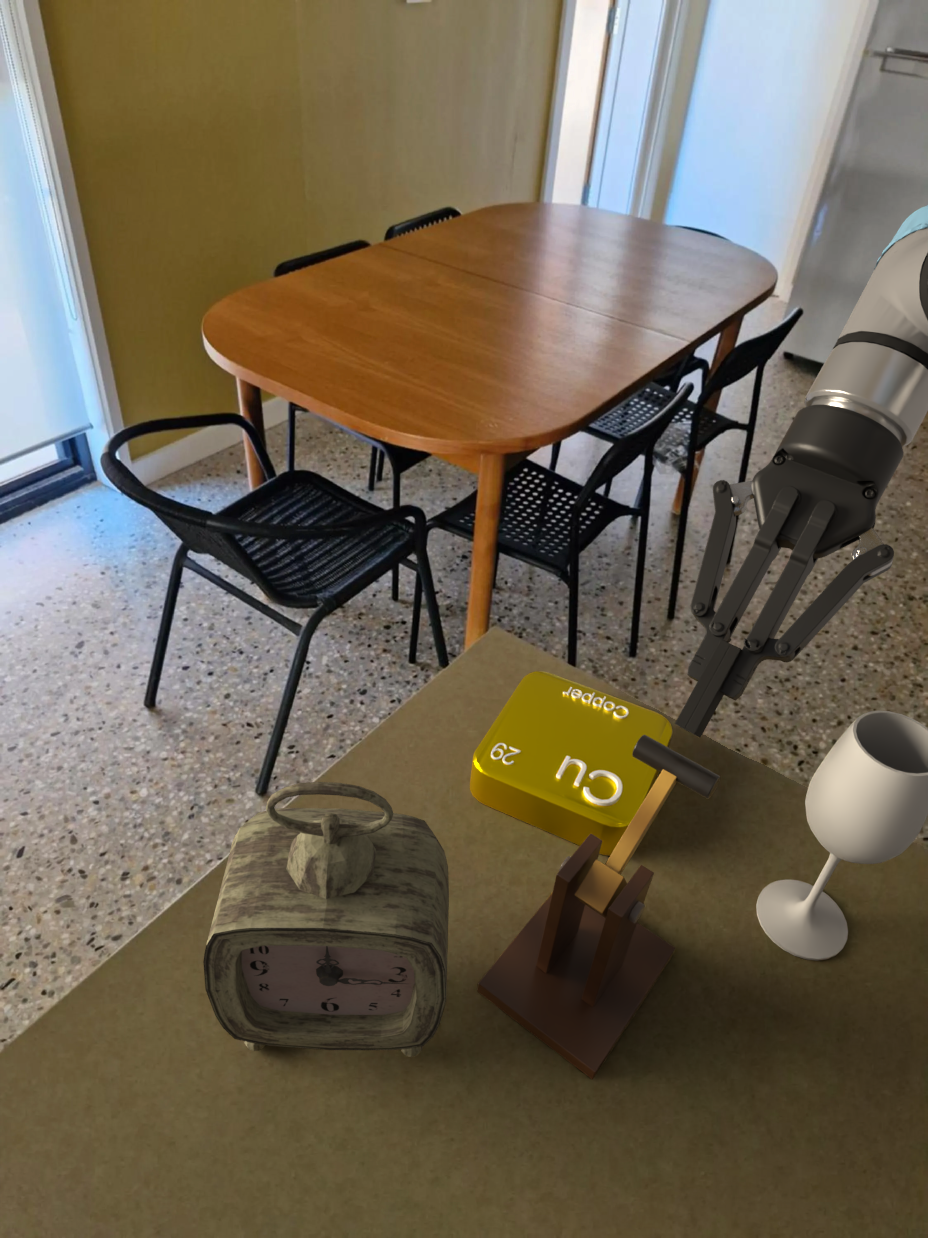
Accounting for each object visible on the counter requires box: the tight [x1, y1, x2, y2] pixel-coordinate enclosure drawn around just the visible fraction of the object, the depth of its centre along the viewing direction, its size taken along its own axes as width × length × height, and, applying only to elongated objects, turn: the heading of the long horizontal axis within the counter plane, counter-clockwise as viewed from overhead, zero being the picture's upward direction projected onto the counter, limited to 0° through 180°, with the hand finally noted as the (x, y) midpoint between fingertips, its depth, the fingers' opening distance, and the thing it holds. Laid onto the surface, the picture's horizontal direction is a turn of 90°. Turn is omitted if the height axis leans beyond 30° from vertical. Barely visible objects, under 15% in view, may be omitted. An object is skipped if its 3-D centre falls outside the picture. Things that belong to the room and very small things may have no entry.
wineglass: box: [755, 709, 928, 961], centre depth 65 cm, size 8×8×21 cm
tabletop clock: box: [203, 781, 450, 1058], centre depth 56 cm, size 14×9×25 cm, turn 90°
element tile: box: [469, 670, 673, 856], centre depth 81 cm, size 15×15×5 cm
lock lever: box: [575, 735, 721, 918], centre depth 61 cm, size 12×6×2 cm, turn 143°
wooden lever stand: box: [476, 834, 676, 1080], centre depth 63 cm, size 12×10×13 cm
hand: (687, 730), depth 61 cm, fingers closed
